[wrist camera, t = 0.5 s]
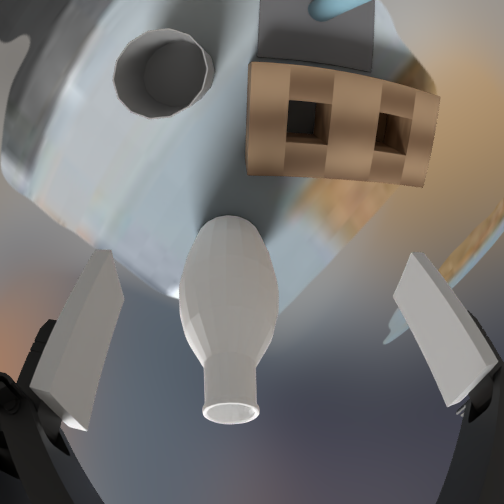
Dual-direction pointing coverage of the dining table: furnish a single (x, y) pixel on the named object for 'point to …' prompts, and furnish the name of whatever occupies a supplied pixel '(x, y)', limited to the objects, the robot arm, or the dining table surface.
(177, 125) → the dining table surface
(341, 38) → the mat
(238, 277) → the bottle
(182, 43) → the cup
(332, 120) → the block
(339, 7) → the peg
